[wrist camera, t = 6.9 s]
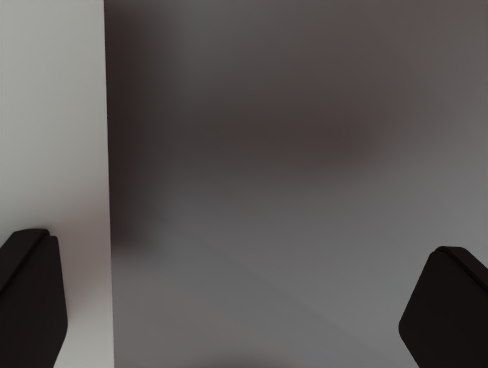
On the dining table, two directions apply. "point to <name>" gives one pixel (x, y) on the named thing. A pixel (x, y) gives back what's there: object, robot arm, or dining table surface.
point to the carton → (60, 156)
